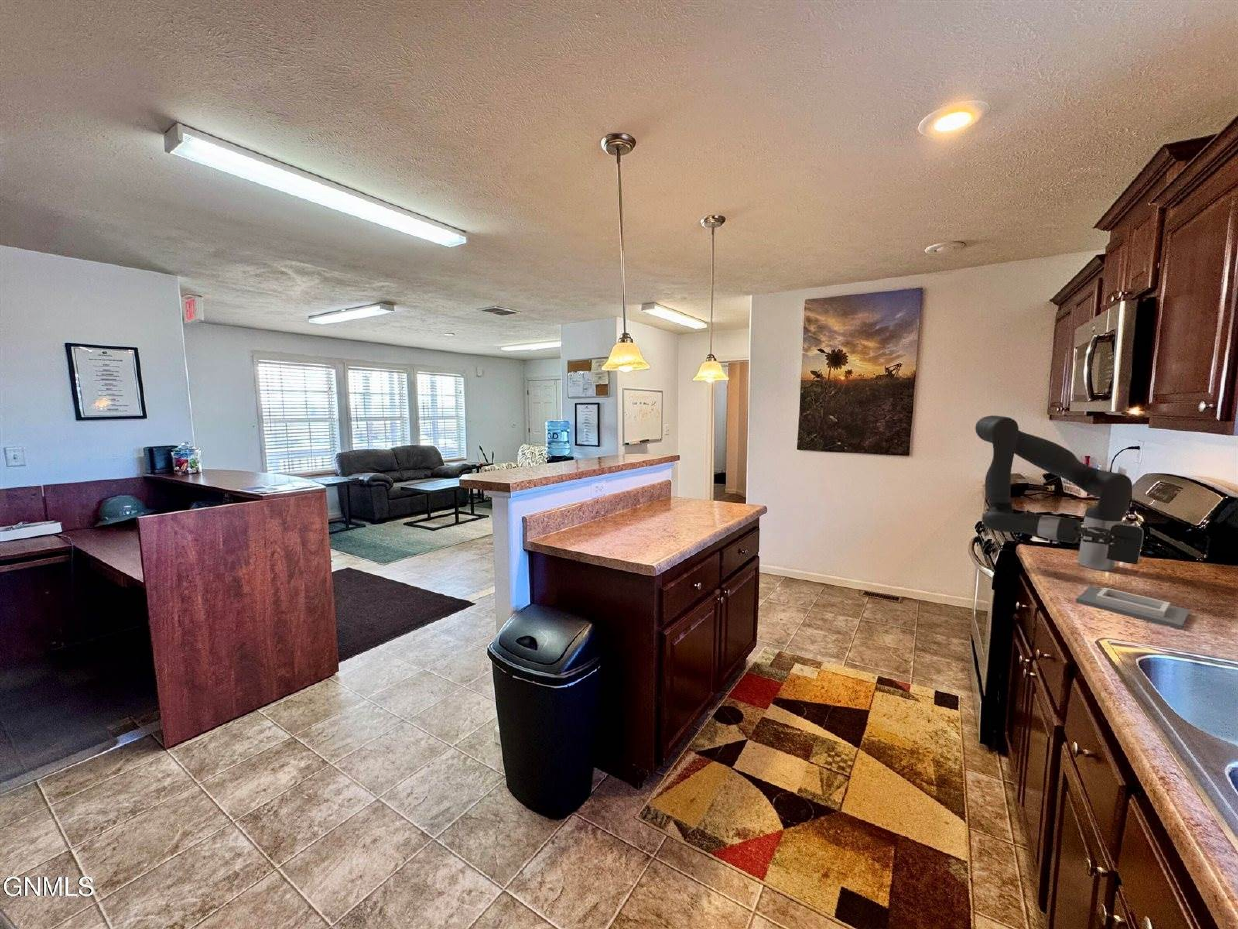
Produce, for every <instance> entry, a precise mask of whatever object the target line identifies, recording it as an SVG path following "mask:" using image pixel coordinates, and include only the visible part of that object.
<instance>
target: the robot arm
mask: <svg viewBox="0 0 1238 929" xmlns="http://www.w3.org/2000/svg"><path fill="white" fill-rule="evenodd" d="M1019 428H1020V427H1019V425H1018V423H1017V421H1016V420H1015V419H1013V418H1011V417H1008V416H1002V415H988V416H984V417H982V418H980V419H979V420H978V421H977V422H976V424H975V433H976V435H977V436H978V438H979V439H981V440H983V441H984V442H988V443H991V444H992V448H993V449H992V450H993V456H992V460H991V463H990V466H989V468H988V470H987V472H986V474H985V479H984V480H985V481H984V496H985V499H986V501H987V502H988V504H989V505H988V506H989V507H988V508H989V509H988V511H986V512H985V513H984V514H983V516H982V519H981V522H982V523H983V524H982V525H984V527H986V528H987V529H989V530H991V531H994V532H1003V533H1020V534H1021V533H1022V534H1026V535H1032V536H1037V537H1042V538H1045V539H1048V540H1054V541H1058V542H1065V543H1071V544H1076V543H1078V541H1079V539H1080V545H1079V553H1078V559H1077V564H1078V565H1080V566H1082V567H1085V568H1089V569H1094V570H1099V571H1109V572H1110V571H1114V570H1115V567H1116V562H1117V561H1114V560H1110V559H1107V558H1106V557H1107V551H1108V545H1110V544H1114V543H1115V544H1118V545H1124V546H1130V547H1131V546H1133V539H1129V538H1123V537H1117V536H1116V537H1115V536H1113V535H1109V532H1110V528H1111V526H1112V525H1114V524H1116V523H1123V519H1124V516H1125V514H1126V513H1127V511H1128V510H1129V505H1130V500H1131V497H1132V492H1133V482H1132V480H1131V478H1130V477H1129V476H1127V475H1126V474H1123V473H1119V472H1118V473H1117V472H1112V471H1106V470H1101V469H1098V468H1095V467H1092V466H1090V465H1087V464H1085V463H1083V462H1082V461H1080V460H1079V459H1078V457H1077V456H1076V455H1075V454H1074V453H1073V452H1072V451H1071V450H1069V449H1067V448H1065V447H1064V446H1061V445H1060V444H1057V443H1056V442H1054V441H1051V440H1048V439H1044V438H1042V437H1040V436H1037V435H1034V434H1030V433H1027V432H1023V431H1021V430H1020V429H1019ZM1015 455H1016V456H1018V457H1019V458H1021V459H1023V460H1024V461H1026V462H1028V463H1030V464H1032V465H1033V466H1035V467H1037V468H1039V469H1041V470H1044V471H1045V472H1048V473H1050V474H1052V475H1054V476H1056V477H1059V478H1061V479H1064V480H1065V481H1068V482H1069V483H1071V484H1073V485H1074V486H1077V487H1078V488H1079V489H1081V490H1082V491H1084V492H1085V493H1087V494H1088V495H1090V496H1093V497H1096V498H1098V502H1097V505H1095V506H1090V507H1087V508H1086V509H1085V513H1084V518H1083V525H1082V522H1081V521H1080V520H1079V519H1072V518H1069V517H1067V518H1066V517H1061V516H1054V515H1044V514H1037V513H1031V512H1024V513H1014V508H1013V504H1012V500H1011V491H1012V490H1011V484H1012V483H1011V482H1012V481H1011V478H1012V477H1011V476H1012V467H1013V462H1014V456H1015Z"/></svg>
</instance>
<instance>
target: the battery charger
mask: <svg viewBox="0 0 1238 929" xmlns="http://www.w3.org/2000/svg"><path fill="white" fill-rule="evenodd" d="M1109 535H1113V536H1115V537H1116V536H1117V537H1123V538H1129V539H1133V546H1131V547H1130V546H1124V545H1118V544H1115V543H1114V544H1110V545H1108V551H1107V557H1106V558H1107V559H1110V560H1114V561H1116V562H1119V563H1126V564H1129V565H1130V564H1131V565H1138V564H1139V562H1140V561H1139V560H1140V555H1141V554H1140V553H1141V549H1142V546H1143V540H1144V529H1143V527H1141V526H1139V525H1136V524H1135V525H1134V524H1129V523H1123V522H1122V523H1116V524H1114V525H1112V526H1111V528H1110V532H1109Z"/></svg>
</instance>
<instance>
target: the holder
mask: <svg viewBox="0 0 1238 929" xmlns="http://www.w3.org/2000/svg"><path fill="white" fill-rule="evenodd" d="M1076 602H1077V604H1080V603H1081V605H1085V606H1089V607H1092V606H1093V607H1092V608H1095V609H1100V610H1103V609H1104V611H1107V612H1112V613H1115V614H1118V613H1119V614H1120V615H1122V616H1127V617H1130V616H1131V617H1130V618H1135V619H1139V620H1142V619H1143V621H1145V620H1146V621H1145V622H1150V623H1153V624H1158V625H1161V626H1165V627H1168V626H1170V627H1169V628H1172V627H1173V629H1176V630H1183V627H1184V626H1185V624H1186V621H1187V619H1188V618H1189V615H1190V613H1191V609H1188V608H1184V607H1179V606H1175V605H1171V602H1169V601H1164V600H1160V599H1156V598H1152V597H1148V596H1143V595H1138V594H1135V593H1129V592H1126V591H1121V590H1118V589H1112V588H1109V587H1103V588H1099V587H1095V586H1091V585H1090V586H1088V587H1087V588H1086V589H1085V590H1084V591H1083V592H1081V593H1080V595H1078V596H1077V597H1076V598H1075V603H1076Z"/></svg>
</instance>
